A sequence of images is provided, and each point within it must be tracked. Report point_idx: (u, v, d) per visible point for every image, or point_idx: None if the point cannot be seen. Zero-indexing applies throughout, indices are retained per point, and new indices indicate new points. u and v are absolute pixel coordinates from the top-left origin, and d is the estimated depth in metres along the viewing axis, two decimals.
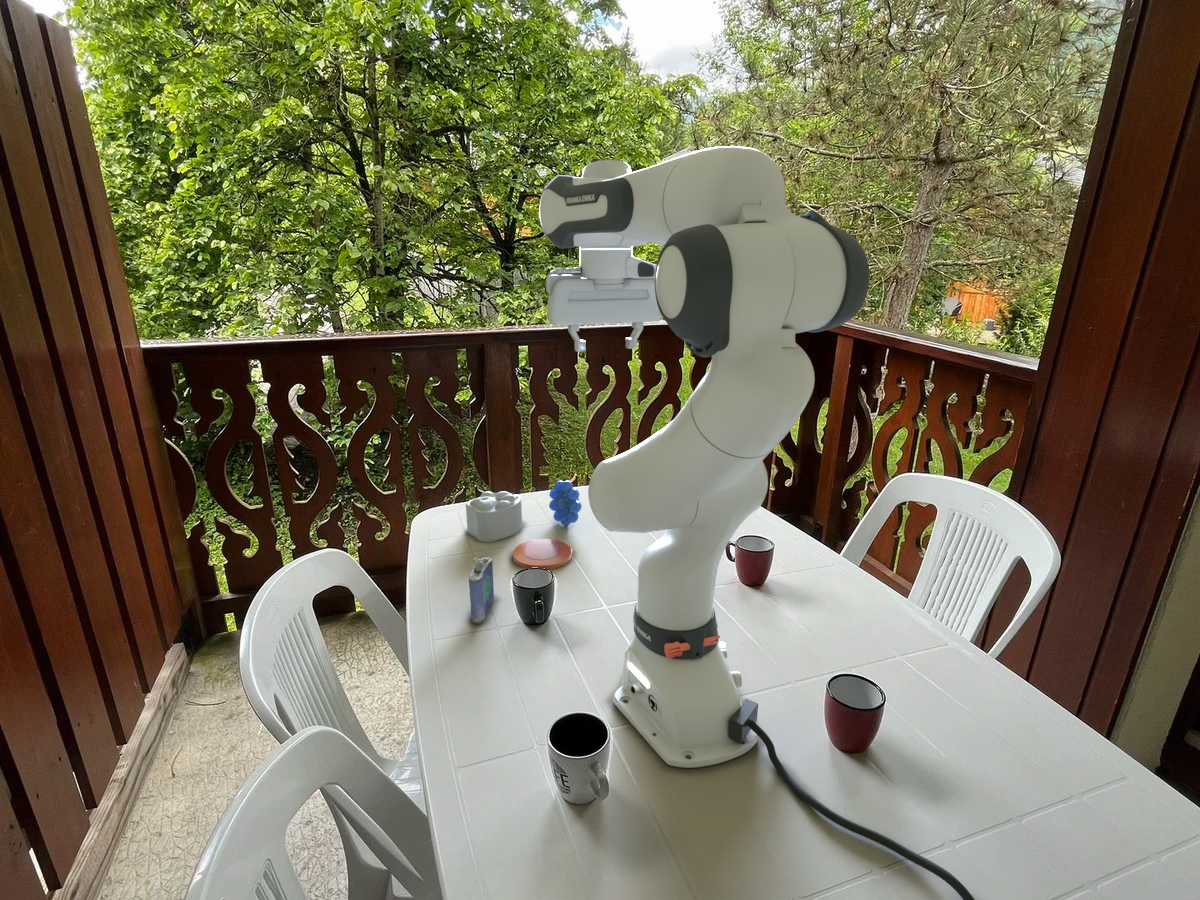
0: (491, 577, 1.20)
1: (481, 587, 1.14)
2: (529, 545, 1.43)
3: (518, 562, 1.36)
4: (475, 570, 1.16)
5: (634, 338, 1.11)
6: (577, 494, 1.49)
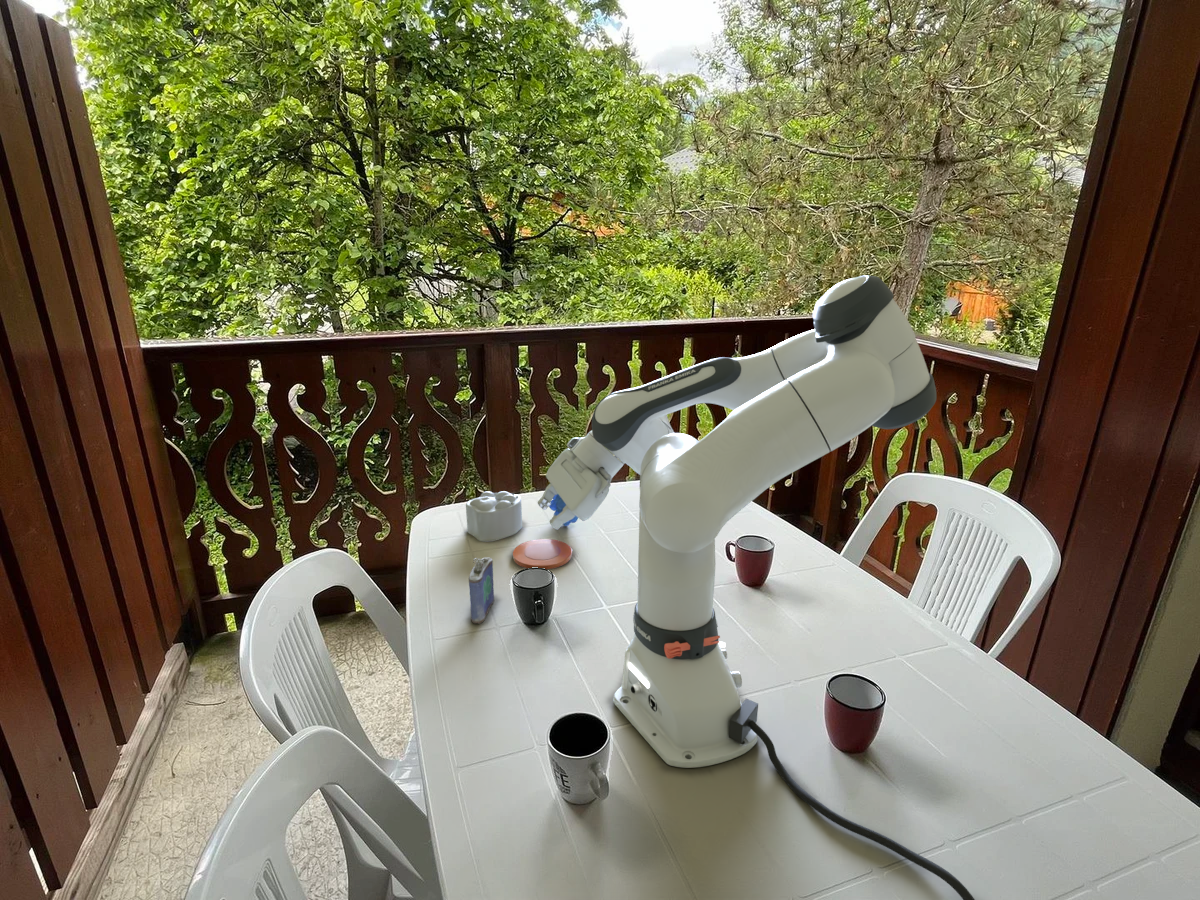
0: (491, 577, 1.20)
1: (481, 587, 1.14)
2: (529, 545, 1.43)
3: (518, 562, 1.36)
4: (475, 570, 1.16)
5: (549, 501, 1.23)
6: None
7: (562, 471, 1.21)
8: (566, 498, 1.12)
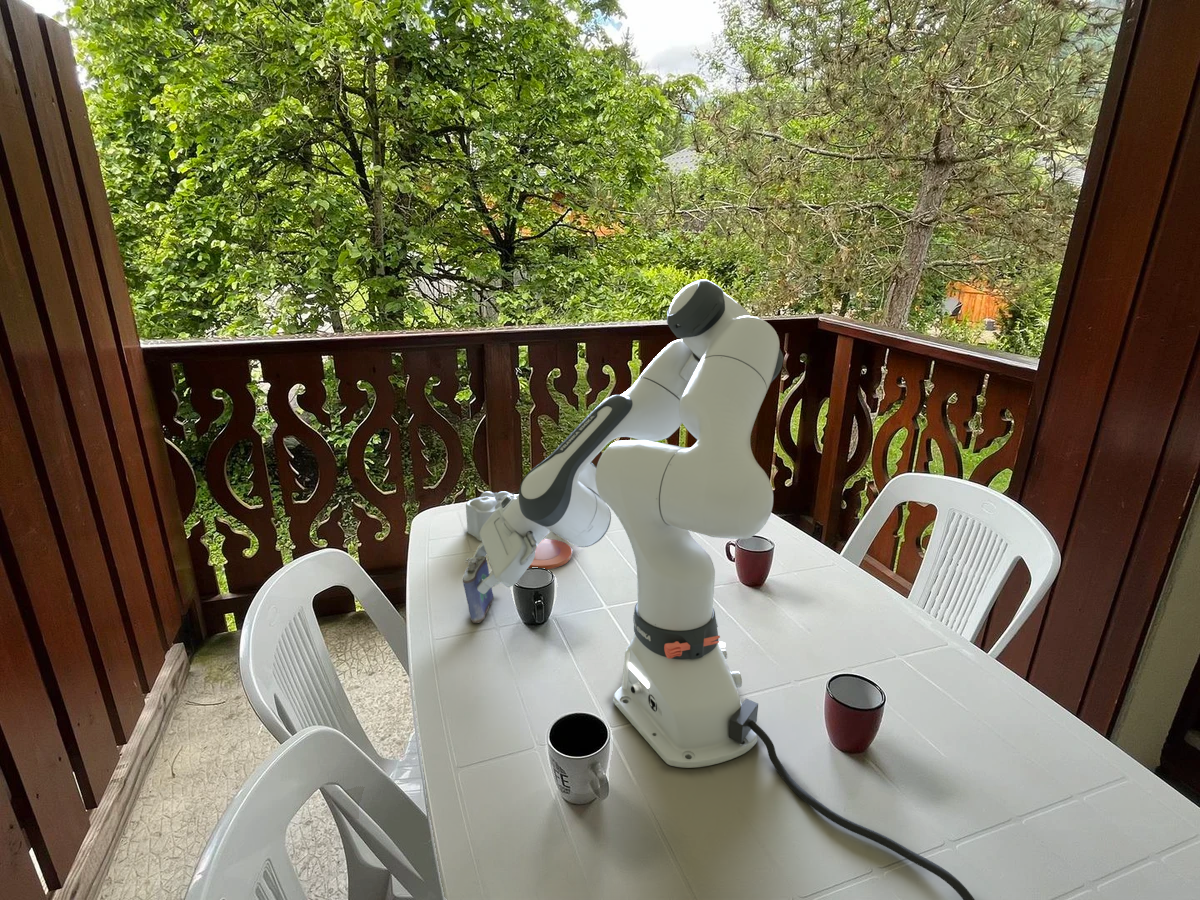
0: (487, 575, 1.20)
1: (476, 586, 1.13)
2: None
3: None
4: (469, 570, 1.16)
5: None
6: None
7: (493, 530, 1.20)
8: (492, 563, 1.12)
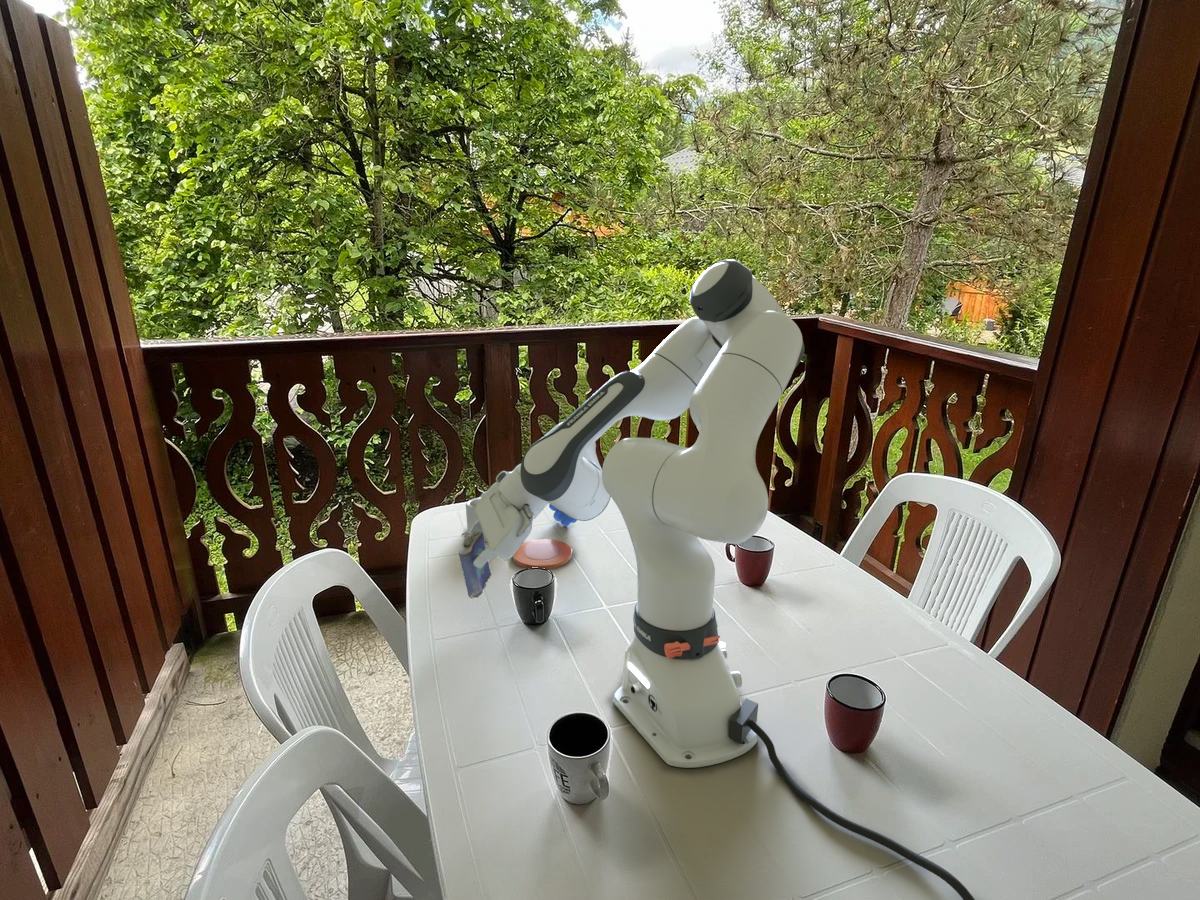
0: None
1: None
2: (529, 545, 1.43)
3: (518, 562, 1.36)
4: (465, 545, 1.14)
5: None
6: None
7: (489, 506, 1.18)
8: (488, 536, 1.09)
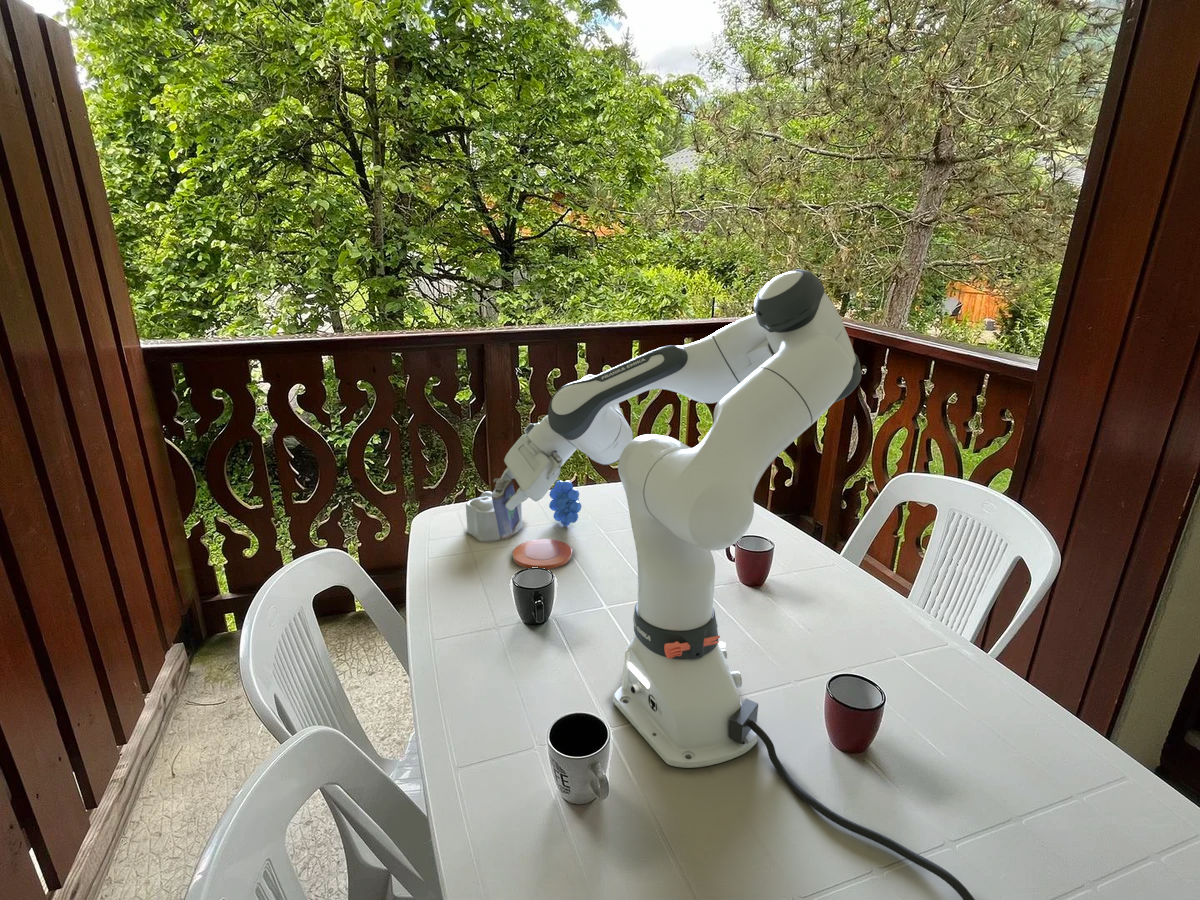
0: None
1: None
2: (529, 545, 1.43)
3: (518, 562, 1.36)
4: (497, 490, 1.22)
5: None
6: (577, 494, 1.49)
7: (518, 455, 1.26)
8: (520, 480, 1.17)
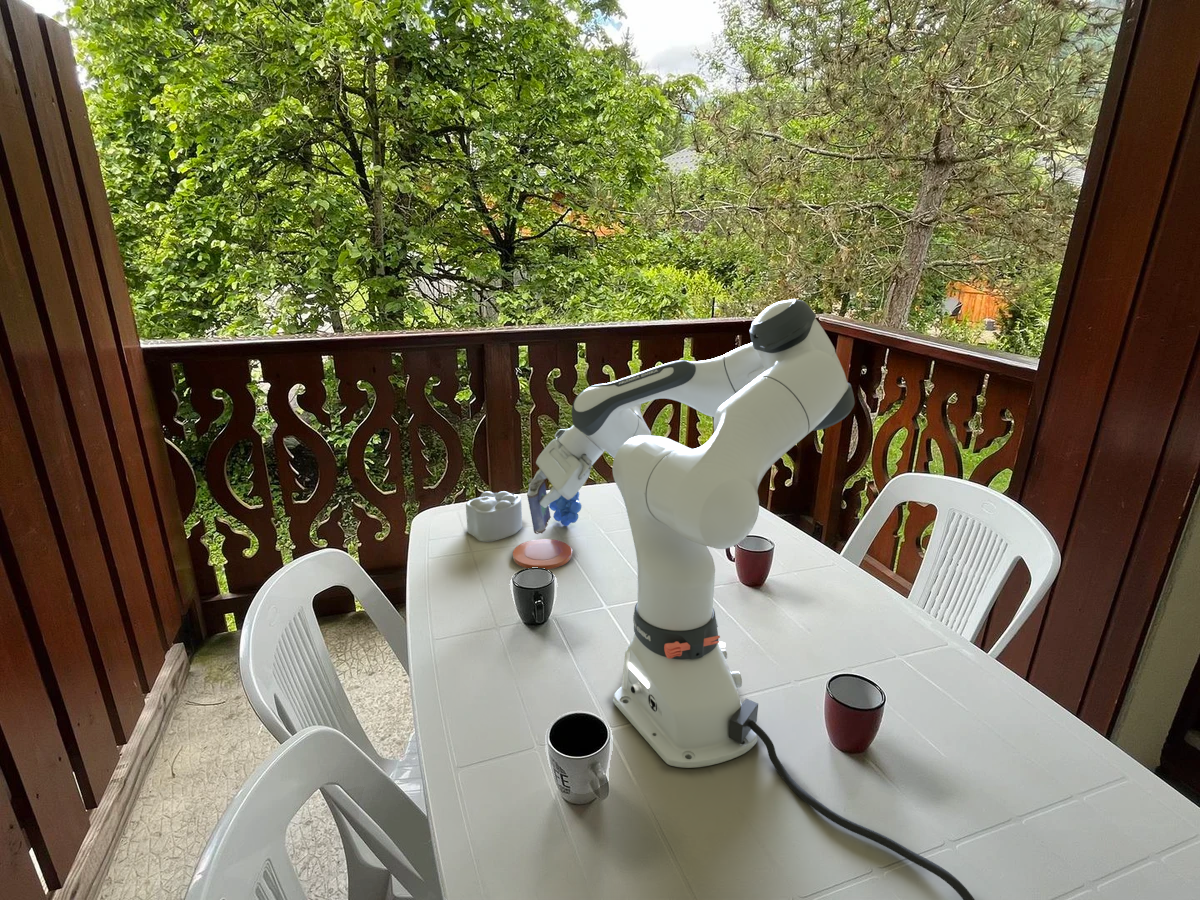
0: None
1: (538, 501, 1.32)
2: (529, 545, 1.43)
3: (518, 562, 1.36)
4: (531, 489, 1.34)
5: None
6: (577, 494, 1.49)
7: (550, 458, 1.39)
8: (553, 480, 1.30)
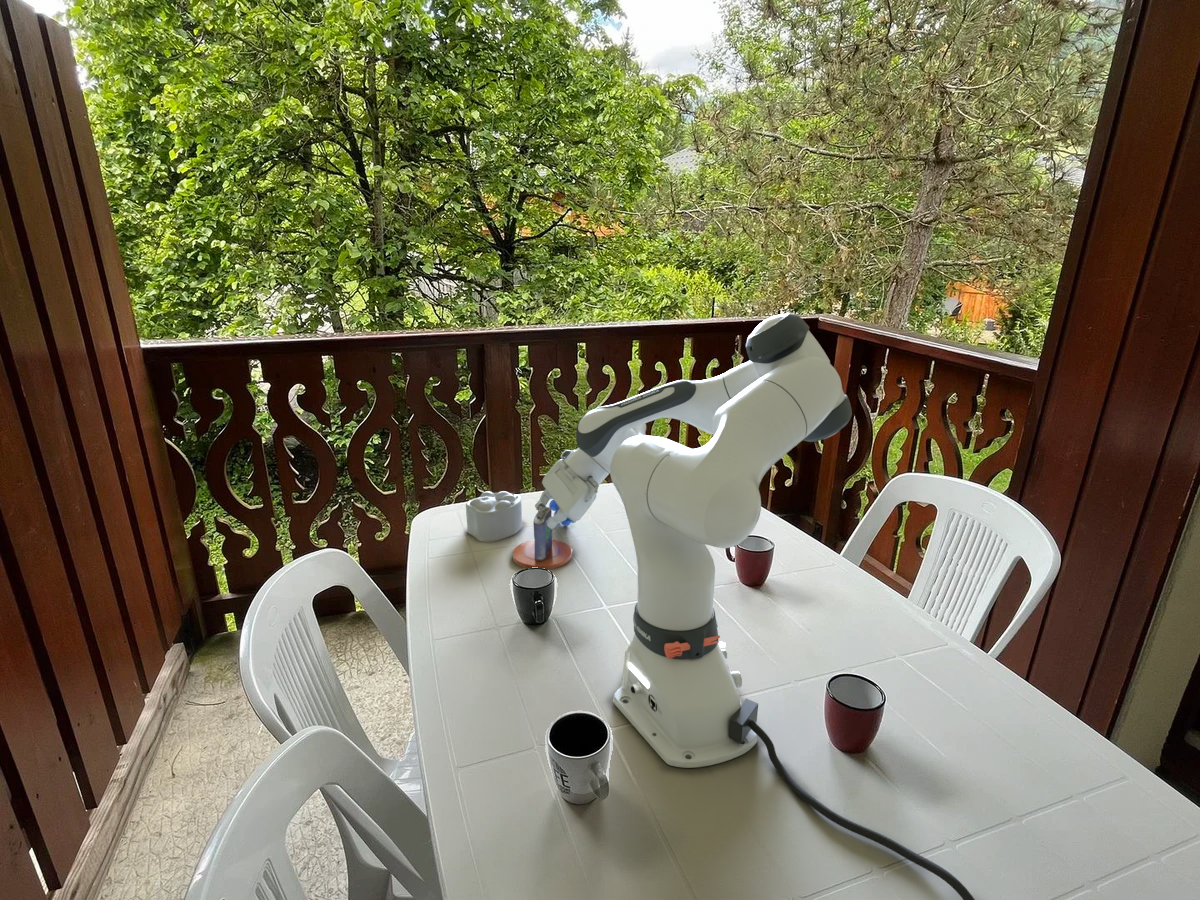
0: None
1: (544, 530, 1.34)
2: (529, 545, 1.43)
3: (518, 562, 1.36)
4: (538, 516, 1.37)
5: (545, 505, 1.42)
6: None
7: (556, 479, 1.41)
8: (560, 502, 1.32)
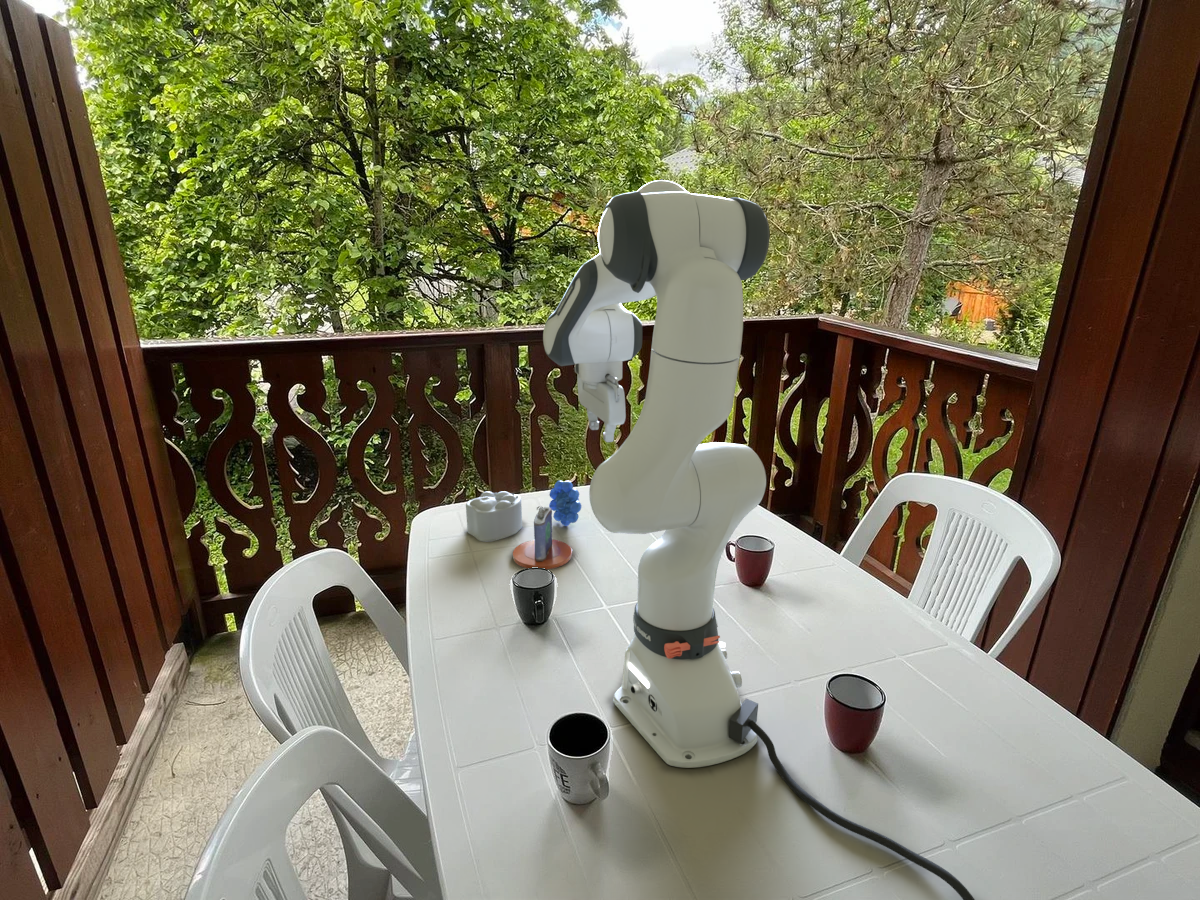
0: (550, 524, 1.40)
1: (544, 530, 1.34)
2: (529, 545, 1.43)
3: (518, 562, 1.36)
4: (538, 517, 1.36)
5: (597, 420, 1.38)
6: (577, 494, 1.49)
7: (586, 394, 1.35)
8: (600, 416, 1.27)
